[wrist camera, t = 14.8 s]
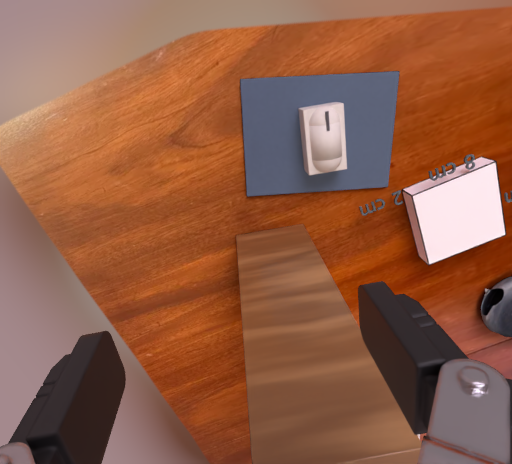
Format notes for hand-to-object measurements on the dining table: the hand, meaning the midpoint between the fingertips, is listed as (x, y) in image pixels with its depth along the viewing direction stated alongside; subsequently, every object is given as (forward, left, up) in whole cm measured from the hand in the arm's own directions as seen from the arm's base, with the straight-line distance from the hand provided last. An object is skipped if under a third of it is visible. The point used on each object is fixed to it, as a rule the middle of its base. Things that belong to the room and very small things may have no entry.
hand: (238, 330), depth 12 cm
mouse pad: (+6, +8, -29) cm, 31 cm away
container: (+23, +13, -30) cm, 40 cm away
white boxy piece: (+6, +8, -29) cm, 31 cm away
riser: (+14, -7, -29) cm, 33 cm away
